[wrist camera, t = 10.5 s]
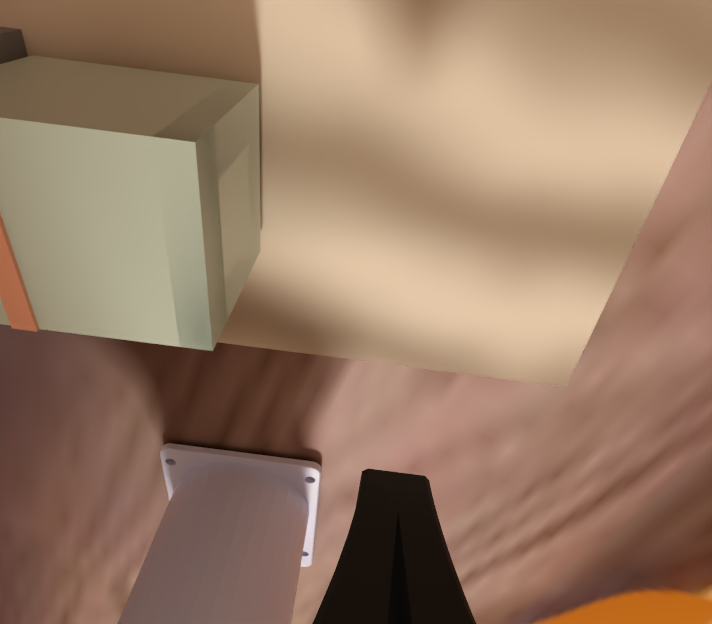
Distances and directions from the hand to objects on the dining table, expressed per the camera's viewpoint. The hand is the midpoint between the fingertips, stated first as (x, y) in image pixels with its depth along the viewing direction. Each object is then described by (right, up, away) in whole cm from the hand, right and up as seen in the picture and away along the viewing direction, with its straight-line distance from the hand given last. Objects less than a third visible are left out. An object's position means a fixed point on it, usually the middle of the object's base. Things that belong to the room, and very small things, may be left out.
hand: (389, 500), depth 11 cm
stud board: (-3, +9, +5) cm, 11 cm away
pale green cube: (-6, +8, +4) cm, 11 cm away
